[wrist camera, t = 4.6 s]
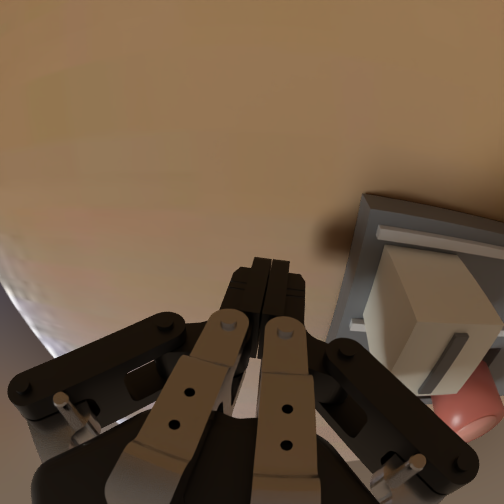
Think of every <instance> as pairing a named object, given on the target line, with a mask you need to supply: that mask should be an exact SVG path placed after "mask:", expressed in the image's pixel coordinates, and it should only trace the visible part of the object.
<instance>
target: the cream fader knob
mask: <svg viewBox="0 0 504 504" xmlns="http://www.w3.org/2000/svg"><path fill="white" fill-rule="evenodd" d="M363 318H364V323H365V328H366V334H367V340H368V345H369V351H370V353H371V354H372V355H373V356H374V357H375V358H376V359H377V360H378V361H379V362H380V363H381V364H383V365H384V366H385V367H386V368H387V369H388V370H389V371H390V372H391V373H392V374H393V375H394V376H395V377H397V378H398V379H399V380H400V381H401V382H402V383H403V384H404V385H405V386H406V387H407V388H408V389H409V390H411V391H412V392H413V393H414V394H415V395H416V396H429V395H445V394H457V392H458V391H459V390H460V389H461V387H462V386H463V385H464V384H465V382H466V381H467V380H468V378H469V377H470V376H471V374H472V373H473V372H474V370H475V369H476V368H477V366H478V365H479V363H480V362H481V360H482V359H483V358H484V356H485V355H486V353H487V352H488V350H489V349H490V347H491V346H492V344H493V343H494V341H495V339H496V338H497V336H498V335H499V333H500V331H501V330H502V328H503V326H504V323H503V322H502V320H501V318H500V317H499V315H498V313H497V312H496V310H495V309H494V307H493V306H492V304H491V302H490V301H489V299H488V298H487V296H486V295H485V293H484V292H483V290H482V289H481V287H480V286H479V284H478V283H477V281H476V280H475V279H474V277H473V276H472V274H471V273H470V272H469V270H468V269H467V267H466V266H465V265H464V263H463V262H462V261H461V259H460V258H459V257H458V255H453V254H446V253H440V252H433V251H427V250H420V249H413V248H407V247H400V246H393V245H386V244H385V245H384V249H383V252H382V256H381V259H380V263H379V266H378V270H377V273H376V276H375V279H374V283H373V286H372V289H371V292H370V295H369V298H368V301H367V304H366V307H365V310H364V313H363Z"/></svg>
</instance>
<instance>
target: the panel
mask: <svg viewBox="0 0 504 504" xmlns="http://www.w3.org/2000/svg"><path fill="white" fill-rule="evenodd" d="M385 244H386V245H393V246H400V247H407V248H413V249H420V250H427V251H433V252H440V253H446V254H453V255H458V257H459V258H460V259H461V261H462V262H463V263H464V265H465V266H466V267H467V269H468V270H469V272H470V273H471V274H472V276H473V277H474V279H475V280H476V281H477V283H478V284H479V286H480V287H481V289H482V290H483V292H484V293H485V295H486V296H487V298H488V299H489V301H490V302H491V304H492V306H493V307H494V309H495V310H496V312H497V313H498V315H499V317H500V318H501V320H502V322H503V323H504V223H502V222H498V221H494V220H490V219H486V218H482V217H478V216H474V215H470V214H466V213H461V212H457V211H452V210H448V209H443V208H439V207H434V206H429V205H424V204H419V203H414V202H409V201H403V200H398V199H392V198H387V197H381V196H375V195H369V194H362V197H361V202H360V207H359V212H358V217H357V222H356V227H355V231H354V236H353V240H352V245H351V249H350V254H349V258H348V262H347V266H346V270H345V274H344V278H343V282H342V286H341V290H340V294H339V297H338V301H337V305H336V308H335V312H334V315H333V319H332V322H331V326H330V329H329V332H328V336H327V339H326V343H328V344H329V342H331V341H332V340H334V339H336V338H350V339H353V340H355V341H357V342H359V343H360V344H361V345H362V346H363V347H364V348H365V349H366V350H367V351H369V345H368V340H367V334H366V328H365V323H364V318H363V313H364V310H365V307H366V304H367V301H368V298H369V295H370V292H371V289H372V286H373V283H374V279H375V276H376V273H377V270H378V266H379V263H380V259H381V256H382V252H383V249H384V245H385ZM369 352H370V351H369ZM482 361H484V362H486V363H487V366H488V368H489V370H490V373H491V375H492V377H493V380H494V382H495V385H496V387H497V390H498V393H499V395H500V396H502V395H504V326H503V328H502V330H501V331H500V333H499V335H498V336H497V338H496V339H495V341H494V343H493V344H492V346H491V347H490V349H489V350H488V352H487V353H486V355H485V356H484V358H483V359H482ZM417 397H418V398H419V399H420V400H421V401H422V402H423V403H424V404H432V400H431V396H430V395H429V396H417Z"/></svg>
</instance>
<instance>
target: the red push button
mask: <svg viewBox="0 0 504 504" xmlns="http://www.w3.org/2000/svg"><path fill="white" fill-rule="evenodd" d="M430 396H431V400H432V404H433V408H434V412H435V414H436V415H437V416H438V417H439V418H440V419H442V420H443V421H444V422H445V423H446V424H447V425H448V426H449V427H450V428H451V429H452V430H453V431H454V432H455V433H456V434H457V435H459V436H460V437H461V438H462V439H463V440H464V441H465V442H466V443H467V442H470V441H472V440H475V439H476V438H478V437H480V436H482V435H484V434H485V433H487V432H488V431H490V430H491V429H492V428H494V427H495V426H496V425H497V424H498V423H499V422H500V421H501V420H502V418H503V417H504V406H503V404H502V401H501V398H500V395H499V393H498V390H497V387H496V385H495V382H494V380H493V377H492V375H491V373H490V370H489V368H488V366H487V363H486V362H484V361H482V360H481V362H480V363H479V365H478V366H477V368H476V369H475V370H474V372H473V373H472V374H471V376H470V377H469V378H468V380H467V381H466V382H465V384H464V385H463V386H462V387H461V389H460V390H459V391H458V392H457V394H445V395H430Z"/></svg>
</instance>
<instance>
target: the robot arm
mask: <svg viewBox="0 0 504 504" xmlns="http://www.w3.org/2000/svg"><path fill="white" fill-rule="evenodd" d="M271 262H272V266H271ZM289 263H290V261H283V260H275V259H273V261H272V259H267V258H259V257H254V261H253V264H252V267H251V268H247V267H240V268H239V269H238V270H236V271H235V272H234V273H233V275H232V278H231V281H230V283H229V286H228V289H227V291H226V294H225V296H224V299H223V302H222V304H221V307H220V310H218V311H216V312H214V313H213V314H212V315H211V316H210V318H209V319H208V321H205V322H201V323H187V324H185V320H184V319H183V317H181V316H180V315H179V314H176V313H173V312H161V313H158V314H155V315H153V316H151V317H148V318H146V319H144V320H142V321H139V322H137V323H135V324H133V325H130V326H128V327H126V328H124V329H121V330H119V331H117V332H115V333H112V334H110V335H108V336H105V337H103V338H101V339H99V340H96V341H94V342H92V343H89V344H87V345H85V346H83V347H80V348H78V349H76V350H73V351H71V352H69V353H66V354H64V355H62V356H59V357H57V358H55V359H52V360H50V361H48V362H45V363H43V364H41V365H38V366H36V367H33V368H31V369H29V370H26V371H24V372H22V373H19V374H17V375H16V376H15V377H14V378H13V379H12V380H11V381H10V384H9V386H8V397H9V399H10V401H11V402H12V403H13V404H14V406H15V407H16V408H17V409H18V410H19V411H20V413H21V415H22V416H23V417H24V418H25V419H26V420H27V423H28V426H29V429H30V432H31V435H32V438H33V441H34V444H35V446H36V449H37V452H38V454H39V457H40V459H41V462H42V464H41V465H40V467H39V468H38V469H37V471H36V472H35V474H34V476H33V479H32V483H31V497H32V504H439V503H440V502H441V501H442V500H443V498H444V497H445V496H447V495H449V494H451V493H452V492H454V491H456V490H458V489H459V488H461V487H462V486H464V485H466V484H468V483H469V482H471V481H472V480H473V479H474V478H475V476H476V475H477V473H478V469H479V459H478V456H477V454H476V452H475V451H474V450H473V449H472V448H471V447H470V446H469V445H468V444H467V443H466V442H465V441H464V440H463V439H462V438H461V437H460V436H459V435H457V434H456V433H455V432H454V431H453V430H452V429H451V428H450V427H449V426H448V425H447V424H446V423H445V422H444V421H443V420H442V419H440V418H439V417H438V416H437V415H436V414H435V413H434V412H433V411H432V410H431V409H430V408H429V407H428V406H427V405H425V404H424V403H423V402H422V401H421V400H420V399H419V398H418V397H417V396H416V395H415V394H414V393H413V392H412V391H411V390H409V389H408V388H407V387H406V386H405V385H404V384H403V383H402V382H401V381H400V380H399V379H398V378H397V377H395V376H394V375H393V374H392V373H391V372H390V371H389V370H388V369H387V368H386V367H385V366H384V365H383V364H381V363H380V362H379V361H378V360H377V359H376V358H375V357H374V356H373V355H372V354H371V353H370V352H369V351H367V350H366V349H365V348H364V347H363V346H362V345H361V344H360V343H359V342H357V341H355V340H353V339H350V338H336V339H334V340H332V341H331V342H329V344H328V343H326V342H323V341H320V340H318V339H316V338H314V337H312V336H311V335H310V334H309V333H308V332H307V330H306V329H305V326H304V310H305V281H304V279H303V278H302V276H301V274H293V273H289ZM258 344H259V348H258ZM257 349H258V357H257V358H258V359H261V367H260V375H259V385H258V396H257V407H256V417H255V418H244V419H237V418H234V417H232V413H233V409H234V406H235V404H236V401H237V398H238V395H239V392H240V389H241V386H242V383H243V380H244V377H245V374H246V368H247V366H248V363H249V358H250V357H251V358H256V354H257ZM152 360H154V361H152ZM150 361H152V362H150ZM148 362H150V363H148ZM146 363H148V364H146ZM144 364H146V365H144ZM142 365H144V366H142ZM140 366H142V367H140ZM138 367H140V368H138ZM136 368H138V369H136ZM134 369H136V370H134ZM132 370H134V371H132ZM130 371H132V372H130ZM128 372H130V373H128ZM127 373H128V374H127ZM155 401H156V402H155ZM153 402H155V404H154V406H153V408H152V409H149V410H146V411H144V412H141V413H139V414H137V415H135V416H134V417H132V418H130V419H128V420H126V421H124V422H123V423H121V424H119V425H117V426H115V427H113V428H111V429H110V430H108V431H106V432H104V433H102V434H100V432H101V428H103V427H105V426H107V425H109V424H111V423H114V422H116V421H118V420H120V419H122V418H124V417H126V416H128V415H130V414H132V413H134V412H136V411H138V410H139V409H141V408H143V407H145V406H147V405H149V404H151V403H153ZM315 409H316V410H317V411H318V412H319V414H320V415H321V416H322V417H323V418H324V419H325V421H326V422H327V423H328V424H329V425H330V426H331V428H332V429H333V430H334V431H335V432H336V433H337V435H338V436H339V437H340V438H341V439H342V440H343V441H344V443H345V444H346V445H347V446H348V447H349V448H350V449H351V450H352V452H353V453H354V454H355V455H356V456H357V457H358V458H359V459H360V460H361V462H362V463H363V464H364V465H365V466H366V467H367V468H368V469H369V470H370V471H371V472H372V473H373V475H372V477H371V480H370V488H371V491H372V493H373V494H374V496H375V497H376V498H375V497H374V496H373V495H372V494H371V492H370V491H369V490H368V489H367V487H366V486H365V485H364V484H363V483H362V482H361V480H360V479H359V478H358V477H357V475H356V474H355V473H354V472H353V471H352V469H351V468H350V467H349V466H348V464H347V463H346V462H345V461H344V459H343V458H342V457H341V456H340V454H339V453H338V452H337V451H336V449H335V448H334V447H333V446H332V445H331V444H330V443H329V442H328V441H326V440H325V439H324V438H322V437H321V436H319V435H317V434H316V417H315Z"/></svg>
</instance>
